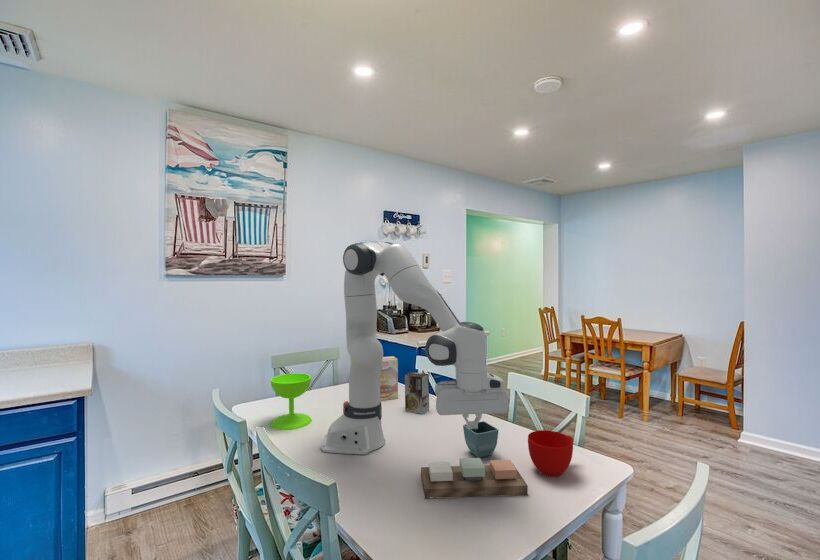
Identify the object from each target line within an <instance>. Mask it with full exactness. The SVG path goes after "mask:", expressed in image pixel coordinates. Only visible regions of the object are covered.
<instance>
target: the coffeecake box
mask: <svg viewBox="0 0 820 560" xmlns="http://www.w3.org/2000/svg"><path fill="white" fill-rule="evenodd" d="M398 360H399V359H398V358H397V357H395V356H393V355H392V356H383V360H382V370H381V378H380V402H382V401H389V400H398V399H399V398H398V397H399V394H398V393H399V386H398V385H399V369H398V368H399V361H398Z"/></svg>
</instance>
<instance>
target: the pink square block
mask: <svg viewBox="0 0 820 560" xmlns="http://www.w3.org/2000/svg"><path fill="white" fill-rule="evenodd" d="M513 464H514V463H513V462H512V460H511V459H493V460H489V465H490V470H491V472H492V473H493V475H494V477H495V479H497V480H506V479H516V478H517V470H518V469H517V467H516V466H515V464H514V465H513ZM515 467H516V468H515ZM516 469H517V470H516Z"/></svg>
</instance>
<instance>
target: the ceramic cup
mask: <svg viewBox="0 0 820 560" xmlns="http://www.w3.org/2000/svg"><path fill="white" fill-rule="evenodd" d="M527 446H528V452H529V453H528V454H529V456H530V457H529V458H530V459H531V461H532V464H533V466H534V467H535V468H536V469H537V470H538V472H539V473H540V474H542V475H543V476H547V477H551V478H552V477H553V478H556V477H561V476H562V474H563V473H565V471H566V470H567V469H568V468H569V467H570V464H571V462H572V458H573V452H574V438H573V437H572V436H571V435H567V434H564V433H562V432H558V431H555V430H548V429H547V430H546V429H545V430H544V429H542V430H541V429H540V430H535V431H531V432H530V433H528V435H527Z"/></svg>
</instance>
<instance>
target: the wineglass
mask: <svg viewBox="0 0 820 560" xmlns="http://www.w3.org/2000/svg"><path fill="white" fill-rule="evenodd" d="M311 382H312V375H310V374H308V373H303V372H302V373H300V372H297V373H291V372H290V373H285V374H280V375H278V374H277V375H275V376H273V377H271V378H270V386H271V388H272V390H273V392H274V393H275V394H276V395H277V396H279V397H281V398H283V399H288V410H289V411H288V413H287V414H283V415H280V416H277V417H276V418H273V420H272V421H271V422H270V426H271V428H273V429H275V430H283V431H289V430H297V429H301V428H305V427H307V426H309V425H310V424H311V423H312V422H313V421H312V420H313V419H312V417H311V416H310V415H308V414H305V413H297V412H296V413H295V399H296V398H299V397H301V396H302V395H304V394H305V393H306V392H307V390H308V389H309V387H310V385H311Z"/></svg>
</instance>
